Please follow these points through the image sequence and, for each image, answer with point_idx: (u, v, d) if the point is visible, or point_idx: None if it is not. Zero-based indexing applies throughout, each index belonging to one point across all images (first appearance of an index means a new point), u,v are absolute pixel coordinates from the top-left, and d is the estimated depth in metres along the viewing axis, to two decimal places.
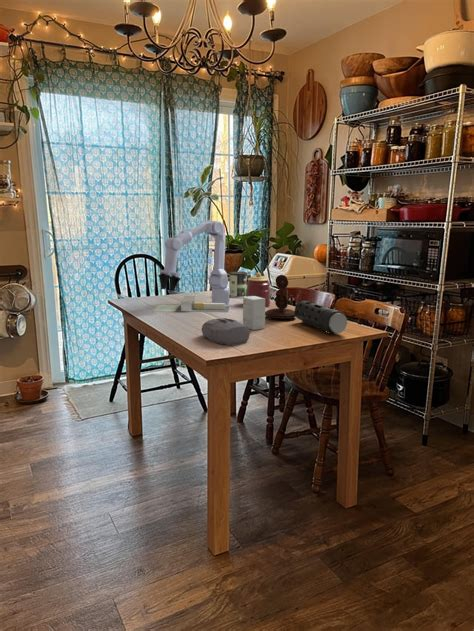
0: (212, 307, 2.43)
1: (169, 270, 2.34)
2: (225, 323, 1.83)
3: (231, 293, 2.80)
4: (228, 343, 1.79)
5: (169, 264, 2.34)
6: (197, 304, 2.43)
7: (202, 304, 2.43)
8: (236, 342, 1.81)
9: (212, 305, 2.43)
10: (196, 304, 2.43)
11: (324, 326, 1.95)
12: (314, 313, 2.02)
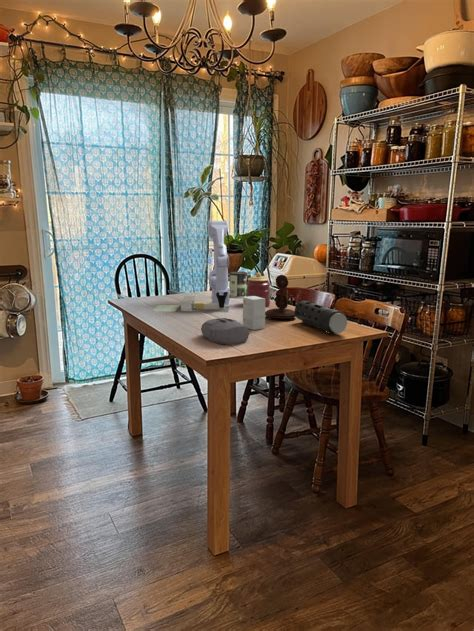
0: (212, 307, 2.43)
1: None
2: (224, 323, 1.83)
3: (231, 293, 2.80)
4: (227, 343, 1.80)
5: None
6: (197, 304, 2.43)
7: (202, 304, 2.43)
8: (235, 342, 1.81)
9: (212, 305, 2.43)
10: (196, 304, 2.43)
11: (324, 326, 1.95)
12: (314, 313, 2.02)
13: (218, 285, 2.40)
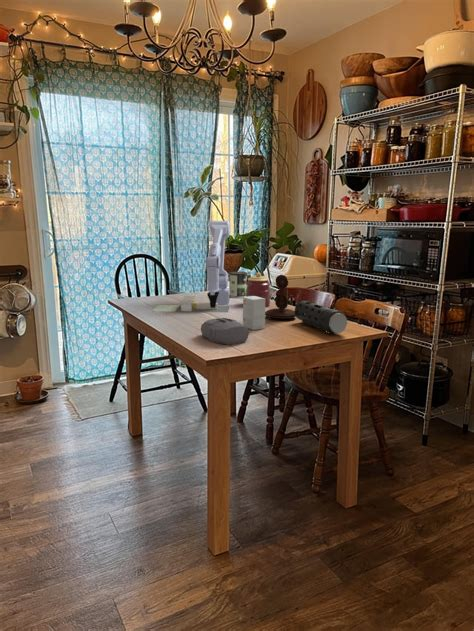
0: (205, 307, 2.43)
1: None
2: (224, 323, 1.83)
3: (231, 293, 2.80)
4: (227, 343, 1.80)
5: None
6: None
7: (195, 304, 2.43)
8: (235, 342, 1.82)
9: (205, 305, 2.43)
10: None
11: (324, 326, 1.95)
12: (314, 313, 2.02)
13: (209, 285, 2.40)
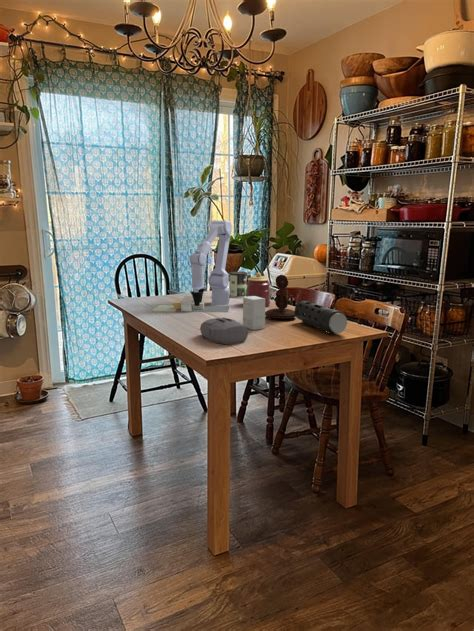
0: None
1: None
2: (223, 323, 1.84)
3: (231, 293, 2.80)
4: (226, 342, 1.80)
5: None
6: (176, 304, 2.44)
7: None
8: (234, 341, 1.82)
9: None
10: (175, 303, 2.44)
11: (324, 326, 1.95)
12: (314, 313, 2.02)
13: (194, 282, 2.40)
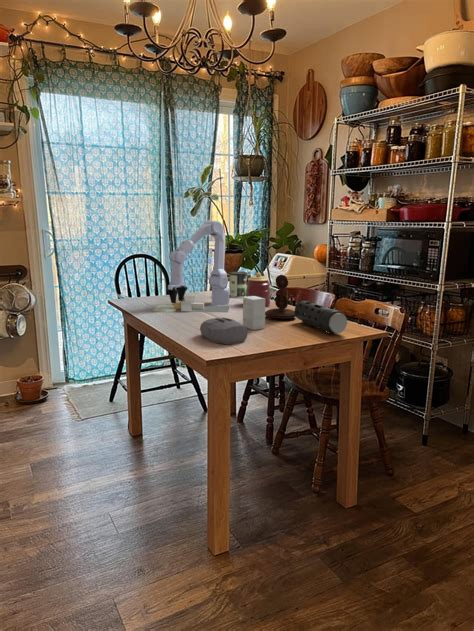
0: None
1: None
2: (223, 323, 1.84)
3: (231, 293, 2.80)
4: (226, 342, 1.81)
5: None
6: (176, 304, 2.44)
7: None
8: (234, 341, 1.82)
9: None
10: (175, 303, 2.44)
11: (324, 326, 1.95)
12: (314, 313, 2.02)
13: (172, 279, 2.41)
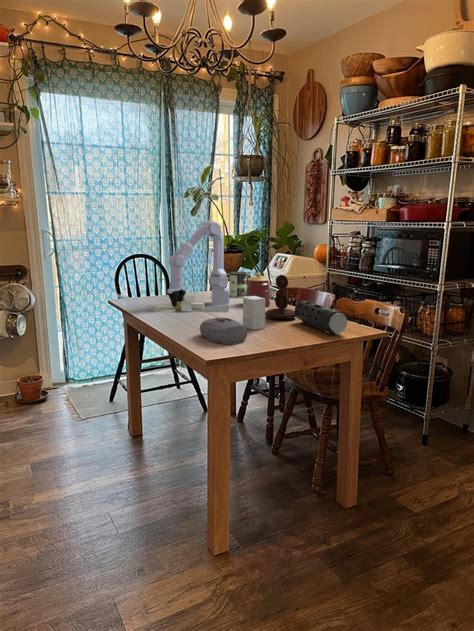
0: None
1: None
2: (223, 322, 1.84)
3: (231, 293, 2.80)
4: (225, 342, 1.81)
5: None
6: None
7: None
8: (233, 341, 1.82)
9: None
10: None
11: (324, 326, 1.95)
12: (314, 313, 2.02)
13: (171, 283, 2.41)
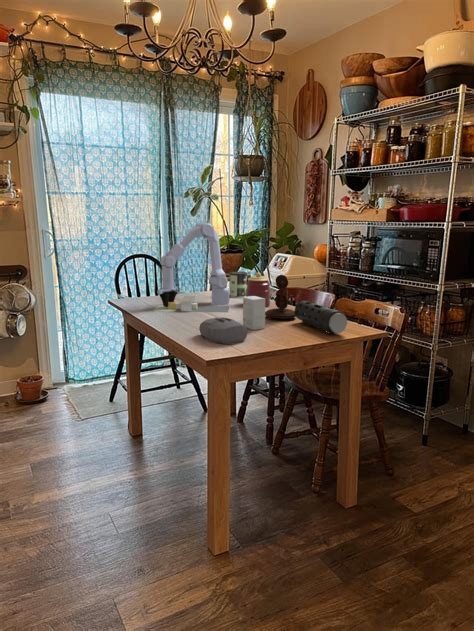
0: None
1: None
2: (223, 322, 1.84)
3: (231, 293, 2.80)
4: (226, 342, 1.81)
5: (173, 281, 2.43)
6: (169, 304, 2.43)
7: (174, 304, 2.43)
8: (234, 341, 1.83)
9: None
10: (168, 303, 2.43)
11: (324, 326, 1.95)
12: (314, 313, 2.02)
13: (162, 284, 2.42)
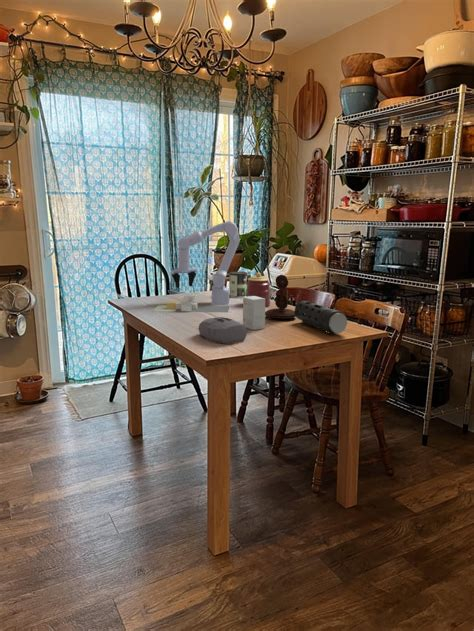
0: None
1: (189, 268, 2.54)
2: (222, 322, 1.85)
3: (231, 293, 2.80)
4: (226, 342, 1.81)
5: None
6: (169, 304, 2.43)
7: (174, 304, 2.43)
8: (234, 341, 1.83)
9: None
10: (168, 303, 2.43)
11: (324, 326, 1.95)
12: (314, 313, 2.02)
13: None
